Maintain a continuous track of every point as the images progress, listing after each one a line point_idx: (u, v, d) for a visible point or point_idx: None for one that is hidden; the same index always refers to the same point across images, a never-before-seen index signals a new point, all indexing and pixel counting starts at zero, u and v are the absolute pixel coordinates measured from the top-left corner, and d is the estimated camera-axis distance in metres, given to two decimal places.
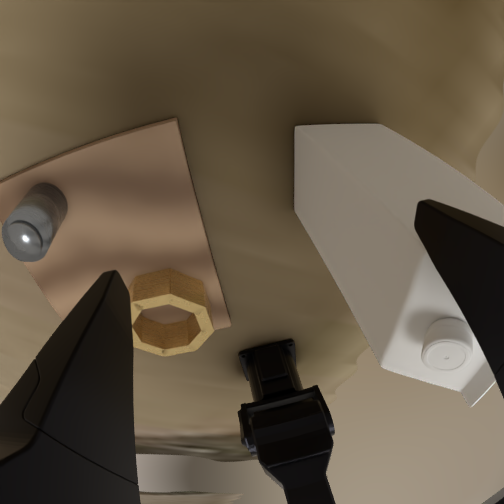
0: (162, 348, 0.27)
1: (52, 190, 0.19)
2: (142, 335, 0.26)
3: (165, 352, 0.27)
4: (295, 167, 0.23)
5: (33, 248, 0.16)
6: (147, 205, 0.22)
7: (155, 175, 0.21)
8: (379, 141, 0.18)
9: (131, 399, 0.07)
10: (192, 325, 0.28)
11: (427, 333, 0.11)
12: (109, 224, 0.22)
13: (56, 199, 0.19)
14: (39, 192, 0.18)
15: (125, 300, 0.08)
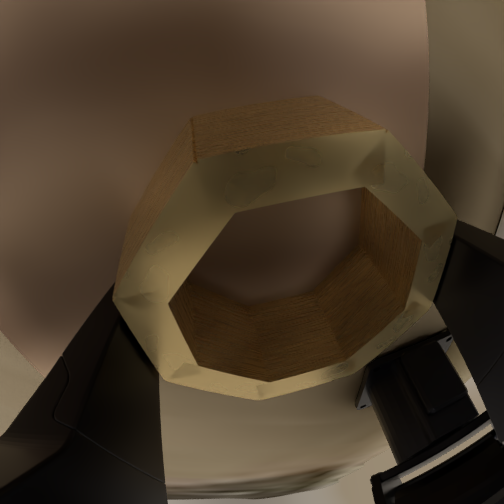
0: (261, 379, 0.08)
1: None
2: (197, 339, 0.08)
3: (267, 390, 0.09)
4: None
5: None
6: None
7: None
8: None
9: (158, 396, 0.07)
10: (347, 301, 0.09)
11: None
12: None
13: None
14: None
15: None
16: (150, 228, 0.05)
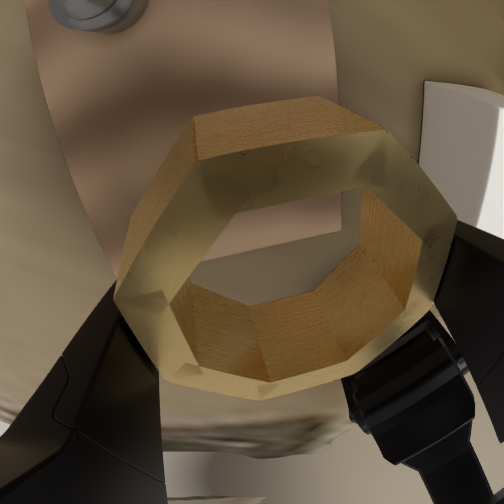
0: (262, 379, 0.08)
1: None
2: (197, 339, 0.08)
3: (267, 391, 0.09)
4: (461, 97, 0.14)
5: None
6: (268, 13, 0.13)
7: None
8: None
9: (158, 396, 0.07)
10: (347, 301, 0.09)
11: None
12: (206, 33, 0.13)
13: None
14: None
15: None
16: (152, 229, 0.05)
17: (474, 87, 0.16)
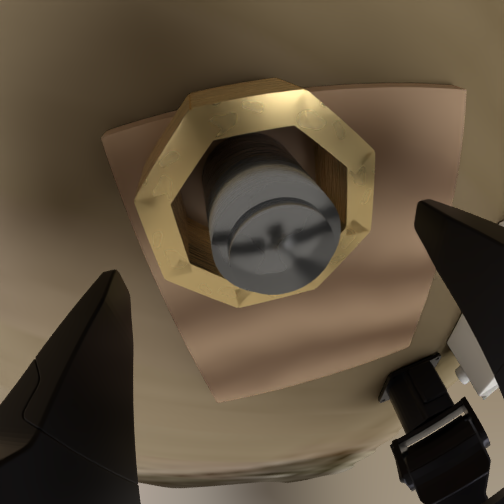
0: None
1: (287, 150, 0.11)
2: (190, 249, 0.11)
3: (243, 297, 0.12)
4: None
5: (310, 264, 0.09)
6: (407, 196, 0.14)
7: (430, 155, 0.13)
8: None
9: (131, 399, 0.07)
10: None
11: (463, 373, 0.25)
12: None
13: None
14: (274, 147, 0.10)
15: (125, 300, 0.08)
16: (163, 150, 0.08)
17: None
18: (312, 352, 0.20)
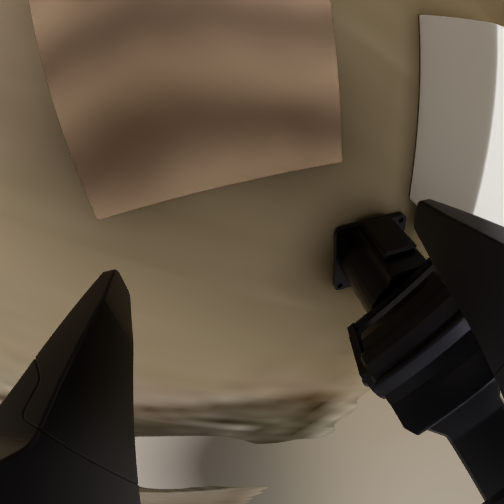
0: None
1: None
2: None
3: None
4: (457, 22, 0.12)
5: None
6: None
7: None
8: None
9: (132, 399, 0.07)
10: None
11: None
12: None
13: None
14: None
15: (125, 300, 0.08)
16: None
17: None
18: (194, 127, 0.16)
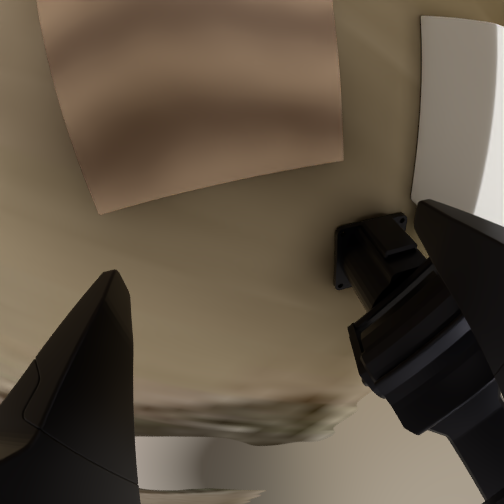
0: None
1: None
2: None
3: None
4: (458, 22, 0.12)
5: None
6: None
7: None
8: None
9: (131, 399, 0.07)
10: None
11: None
12: None
13: None
14: None
15: (125, 300, 0.08)
16: None
17: None
18: (197, 123, 0.17)
